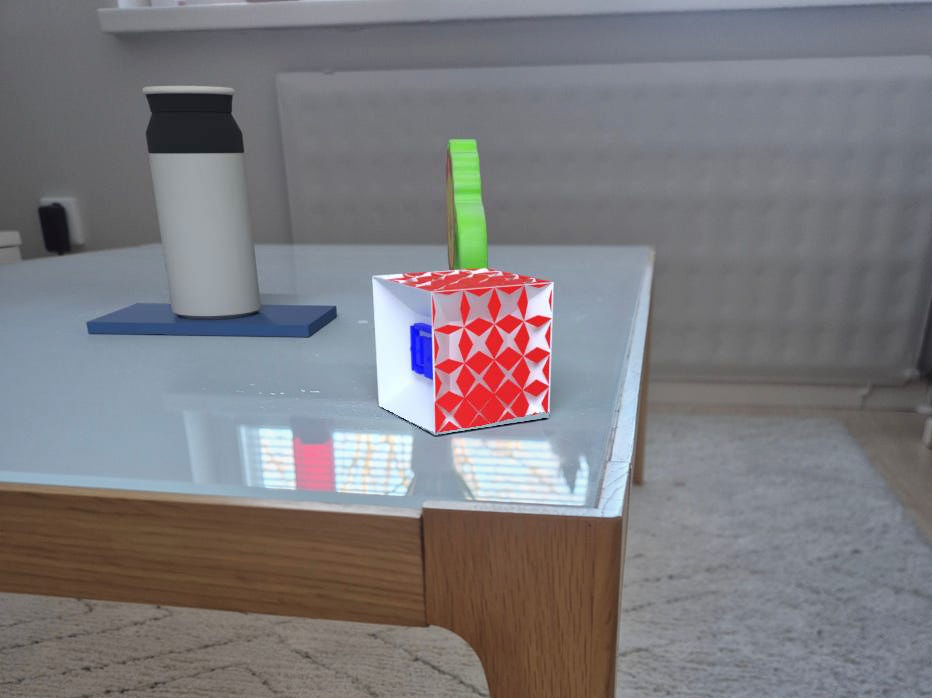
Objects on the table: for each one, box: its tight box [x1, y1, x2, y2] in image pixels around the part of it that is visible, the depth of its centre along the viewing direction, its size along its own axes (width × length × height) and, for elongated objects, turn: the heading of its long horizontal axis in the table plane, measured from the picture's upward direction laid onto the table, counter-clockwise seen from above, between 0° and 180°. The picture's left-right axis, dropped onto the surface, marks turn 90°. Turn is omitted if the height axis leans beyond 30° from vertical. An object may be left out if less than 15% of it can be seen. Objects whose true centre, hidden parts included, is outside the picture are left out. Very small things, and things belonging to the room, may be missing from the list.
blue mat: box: [85, 302, 338, 338], centre depth 87 cm, size 20×11×1 cm, turn 85°
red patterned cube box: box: [371, 267, 555, 433], centre depth 57 cm, size 8×8×8 cm
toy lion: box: [445, 138, 489, 271], centre depth 75 cm, size 16×5×15 cm, turn 5°
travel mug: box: [141, 85, 262, 319], centre depth 83 cm, size 8×8×18 cm
